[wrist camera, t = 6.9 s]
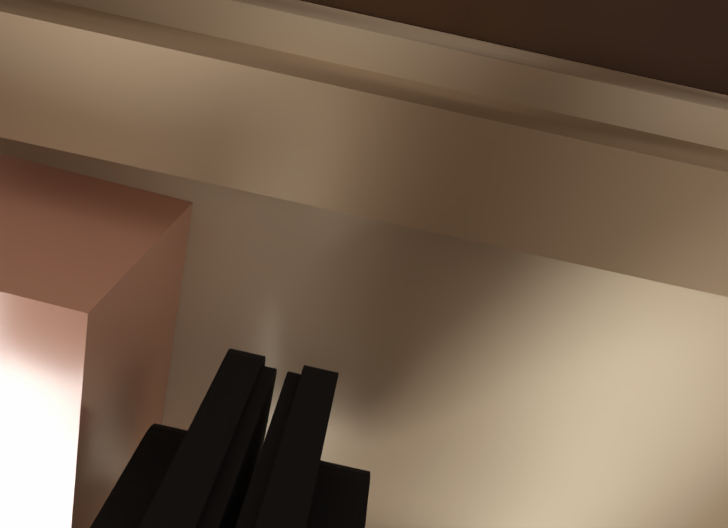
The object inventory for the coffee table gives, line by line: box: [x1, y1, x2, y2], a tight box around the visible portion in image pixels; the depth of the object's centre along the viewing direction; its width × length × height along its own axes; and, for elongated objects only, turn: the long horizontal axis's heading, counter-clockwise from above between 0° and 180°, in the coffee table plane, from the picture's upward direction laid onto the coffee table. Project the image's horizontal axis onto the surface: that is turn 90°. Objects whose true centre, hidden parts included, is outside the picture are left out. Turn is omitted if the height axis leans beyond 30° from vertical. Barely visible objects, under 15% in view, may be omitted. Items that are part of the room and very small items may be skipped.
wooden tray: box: [0, 0, 728, 528], centre depth 12 cm, size 15×12×4 cm
